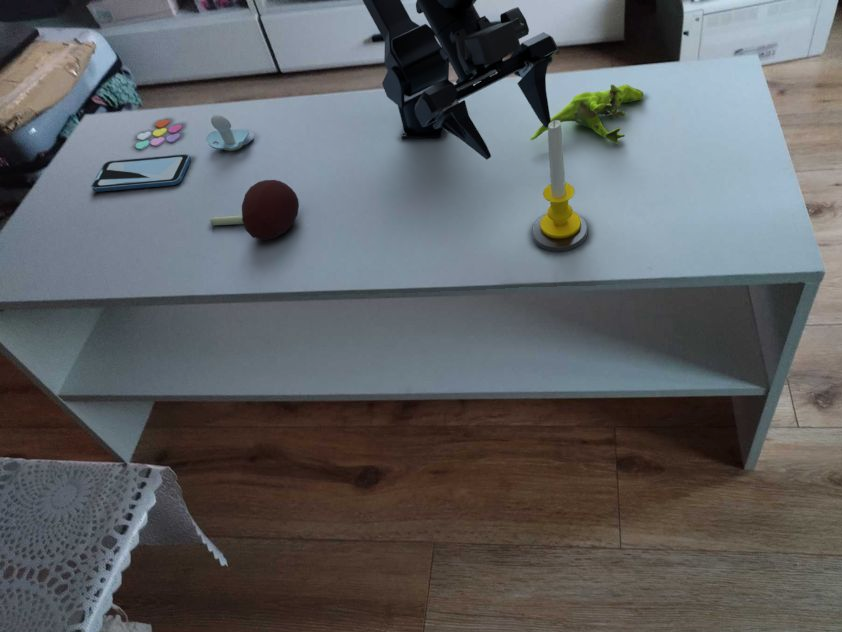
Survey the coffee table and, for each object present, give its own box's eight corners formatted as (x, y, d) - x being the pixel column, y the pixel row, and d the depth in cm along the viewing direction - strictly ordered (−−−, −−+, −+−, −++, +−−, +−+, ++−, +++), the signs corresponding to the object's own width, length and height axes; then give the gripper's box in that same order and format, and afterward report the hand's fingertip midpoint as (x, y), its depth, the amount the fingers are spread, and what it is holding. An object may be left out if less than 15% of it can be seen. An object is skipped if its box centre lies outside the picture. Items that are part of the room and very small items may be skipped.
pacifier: (223, 134, 119) (207, 154, 115) (208, 100, 114) (191, 120, 110) (262, 133, 117) (247, 154, 113) (248, 99, 112) (232, 120, 109)
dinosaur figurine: (581, 175, 98) (580, 137, 93) (528, 150, 103) (524, 113, 98) (670, 107, 104) (673, 68, 100) (616, 87, 110) (616, 49, 105)
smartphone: (177, 181, 110) (88, 189, 112) (180, 186, 111) (92, 193, 113) (190, 153, 115) (105, 160, 117) (193, 158, 116) (108, 165, 117)
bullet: (215, 221, 103) (265, 218, 102) (213, 227, 103) (263, 224, 101) (211, 215, 102) (261, 212, 101) (209, 221, 102) (259, 218, 100)
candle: (541, 241, 89) (532, 135, 77) (538, 214, 93) (529, 109, 81) (583, 236, 89) (580, 129, 77) (578, 209, 92) (575, 103, 80)
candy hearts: (134, 151, 120) (133, 150, 119) (140, 126, 125) (139, 125, 124) (179, 141, 119) (178, 140, 119) (184, 116, 124) (183, 115, 124)
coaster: (529, 251, 90) (528, 246, 89) (536, 214, 94) (536, 210, 93) (584, 252, 88) (584, 248, 87) (589, 215, 92) (589, 211, 92)
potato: (300, 215, 104) (315, 202, 99) (261, 255, 100) (275, 243, 95) (261, 177, 101) (275, 161, 96) (220, 216, 97) (232, 202, 92)
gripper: (406, 25, 75) (477, 156, 77) (544, -38, 80) (608, 87, 82) (387, 67, 86) (450, 181, 88) (510, 9, 91) (567, 118, 93)
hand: (519, 142), depth 87 cm, fingers open, 9 cm apart
